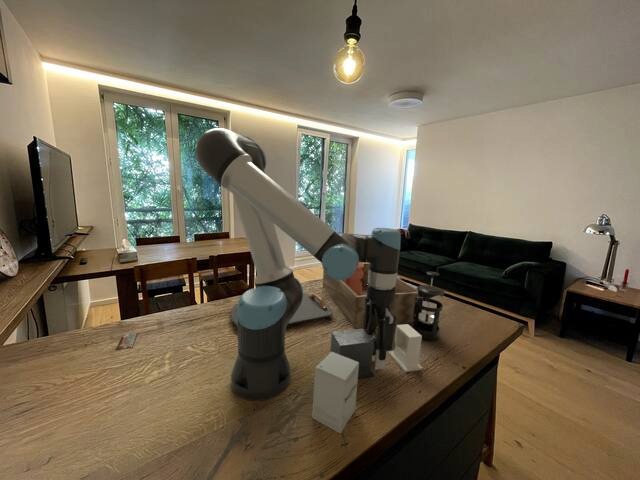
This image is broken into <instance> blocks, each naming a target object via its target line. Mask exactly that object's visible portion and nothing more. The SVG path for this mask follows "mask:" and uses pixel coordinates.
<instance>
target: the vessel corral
mask: <svg viewBox="0 0 640 480" xmlns="http://www.w3.org/2000/svg"><path fill="white" fill-rule="evenodd" d="M363 265H364V266H363V268H362V270H363V273H364V275H363V277H362V279H360V281H361V283H362V285H367V284H369V283H368V273H369V263H363ZM322 272H323V274H322V288H323V287H324V288H325V290H326V291H327V292H326V291H325V290H324V291H325V292H326V294H327V293H328V294H329V295H328V294H327V295H328V296H329V298H330V297H331V298H332V299H331V298H330V299H331V300H332V302H333V303H334V304H335V306H336V307H337V306H338V307H337V308H338V309H339V311H340V312H341V313H342V315H343V316H344V317H345V318H346V320H347V321H348V323H349V324H350V325H351V327H353V329H360V328H364V316H365V306H366V304H365V298H367V294H362V295H360V294H358V295H357V294H356V293H355V292H354V291H353V290H352V289H351V288H350V287H349V286H348V285H347V284H346V283H345V282H344V280H345V279H344V280H335V279H333V278H331V277H329V276H328V275H327V274H326V273H325V271H324V270H323V271H322ZM324 288H323V289H324ZM395 288H396V291H395V299H394V301H393V302H392V303H391V304H390V314H391V315H392V316H395V317H396V321H395V324H394V325H400V324H408V323H413V321H414V319H413V314H414V306H415V298H416V297H421V296H419V295H418V290H417V287H416V288H415V286H414V287H413V286H412V285H410V284H409V283H407V282H405V281H404V280H403V279H400V278H399V277H397V279H396V286H395ZM421 298H423V297H421ZM382 320H384V319H382ZM367 325H368V324H367Z"/></svg>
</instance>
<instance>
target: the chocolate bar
mask: <svg viewBox="0 0 640 480" xmlns="http://www.w3.org/2000/svg"><path fill="white" fill-rule="evenodd" d="M137 332H138V333H136V332H131V333H125V335H124V334H121V337H120V339H119V342H118V344H117V346H116V347H115V351H121V350H128V349H129V350H130V349H134V345H135V343H136V340H137V337H138V335H139V334H140V331H137Z"/></svg>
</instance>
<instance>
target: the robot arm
mask: <svg viewBox="0 0 640 480" xmlns="http://www.w3.org/2000/svg"><path fill="white" fill-rule="evenodd" d="M195 156H196V161H197V162H198V164H199V166H200V167H201V169H202V170H203V171H204V172H205V173H206V174H207V175H208V176H209V177H210V178H212V180H214V181H215V182H216V183H217V184H219V186H221V187H222V188H223V189H225V190H226V191H228V192H230V193H231V194H232V195H233V198H234V201H235V204H236V208H237V210H238V213H239V218H240V221H241V224H242V227H243V231H244V234H245V238H246V241H247V244H248V248H249V250H250V251H249V252H250V254H251V258H252V260H253V264H254V267H255V270H256V276H255V278H254V280H253V283H254V285H255V288H250V289H248V290H246V291H245V292H244V293H242V294H241V295H240V297H239V299H238V302H237V304H238V309H237V320H238V327H237V356H236V359H235V361H234V364H233V367H232V370H231V373H230V374H231V375H230V386H231V389H232V391H233V392H234V394H236V395H237V396H238V397H240V398H241V399H244V400H249V401H264V400H269V399H272V398H275V397H277V396H279V395H280V394H282V393H283V392H284V391H285V390H286V389H288V387H289V384H290V383H291V379H292V378H291V377H292V375H291V372H292V371H291V370H292V369H291V366H290V362H289V359H288V357H287V353H286V350H285V349H286V348H285V347H286V328H287V326H288V325H287V324H288V323H289V321H290V320H291V318H292V317H293V315H294V314H295V312H296V311H297V310H298V309H299V307H300V305H301V302H302V299H303V294H304V290H303V289H304V288H303V286H302V283H301V282H300V280H299V279H298V278H297V277H295V275H294V272H293V269H292V268H290V267H289V266H287V264H286V261H285V259H284V254H283V252H282V248H281V244H280V241H279V237H278V234H277V230H276V227H277V228H279V229H280V230H281V231H282V232H283V233H285V234H286V235H288V236H289V237H290V238H291V239H292V240H293V241H295V242H296V243H297V244H298V245H299V246H301V248H303V249H304V250H306V252H308V253H309V254H311V255H312V256H313V257H314V258H316V260H318V261H319V262H320V263H321V265H322V269H323V271H325V273H326V274H327V275H328V276H329V277H331V278H333V279H335V280H344V279H347V278H349V277H350V276H352V275H353V273H354V272H355V270H356V269H357V266H358V264H359V262H362V263H369V273H368V283H369V284H368V286H366V287H367V289H366V295H367V298H365V304H366V306H365V316H364V327H363V330H365V332H366V333H367V334H368V336H369V337H370V336H375V335H378V347H376V354H375V355H372V357H374V367H373V369H374V370H376V371H377V370H384V369H385V365H386V358H387V352H391V351H390V350H392V344H393V339H394V334H395V333H394V332H395V331H394V330H395V325H396V324H395V321H396V317H395V316H392V315H391V314H390V304H391V303H392V302H393V301H394V299H395V291H396V288H395V286H396V279H397V278H398V268H399V261H400V251H401V239H402V238H401V235H402V234H401V232H400V231H399V230H397V229H395V228H388V227H375V228H373V229H372V230H371V234H358V233H346V232H343V231H341V232H340V231H339V232H336V231H335V230H334V229H333V228H332V227H330V226H329V225H328V224H327V223H326V222H325V221H324V220H322V219H320V218H319V217H318V216H317V215H316V214H315V213H313V212H312V211H311V210H310V209H308V208H307V207H306V206H305V205H304V204H303V203H301V202H300V201H299V200H297V198H295V197H294V196H293V195H291V193H289V192H288V191H286V190H285V189H284V188H283V187H282V186H281V185H279V184H278V183H277V182H276V181H274V179H272V178H271V177H269V176H268V175H267V174H266V172H265V169H266V167H267V158H266V157H267V156H266V154H265V151H264V149H263V148H262V147H261V146H260V145H259V144H258V143H257V142H256V141H255V140H254V139H253V138H250V137H247V136H245V135H241V134H238V133H237V132H234V131H232V130H229V129H226V128H221V127H217V128H211V129H209V130H207V131H205V132H203V134H201V135H200V137H199V138H198V140H197V143H196V146H195ZM275 226H276V227H275ZM382 319H384V320H382ZM367 324H368V325H367ZM386 351H387V352H386Z"/></svg>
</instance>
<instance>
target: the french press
mask: <svg viewBox="0 0 640 480" xmlns="http://www.w3.org/2000/svg"><path fill="white" fill-rule="evenodd" d="M426 274H427V275H429V276H430V279H431V282H430V285H428V284H421V285H418V286H417V287H416V289H417V290H418V295H419V296H421V297H422V298H421V297H416V298H415V306H414V314H413V319H414V321H413V322H412V326H411V327H412V328H413V329H414V330H415V331H417V332H418V333H419V334H420V335H421V336H422V340H421V341H425V342H435V341H438V340H439V339H440V327H439V323H440V322H441V319H440V314H441V312H442V311H443V307H444V305H443V303H442V302H440V301H439V300H436V299H433V298H434V297H436V296H438V297H439V296H440V297H441V298H443V296H444V295H445V293H446V292H445V290H444V289H442V288H440V287H437V286H433V279H434V278H435V277H439V276H440V273H439V272H436V271H426ZM424 302H426V303H428V304H427V306H424V305H423V303H424ZM430 303H431V304H435V305H436V308H435V307H430ZM423 311H425V312H423ZM429 312H430V313H429ZM432 313H434V314H432ZM427 330H428V331H427Z"/></svg>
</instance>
